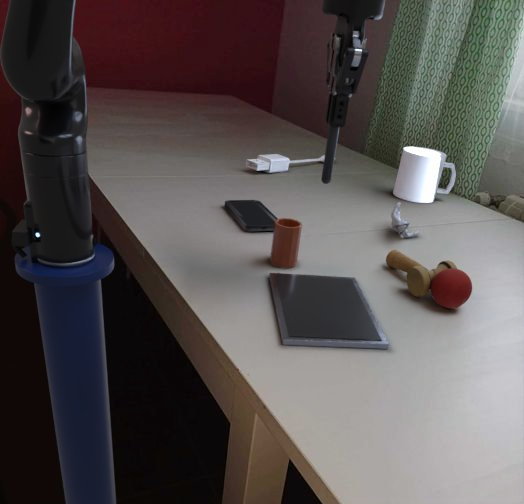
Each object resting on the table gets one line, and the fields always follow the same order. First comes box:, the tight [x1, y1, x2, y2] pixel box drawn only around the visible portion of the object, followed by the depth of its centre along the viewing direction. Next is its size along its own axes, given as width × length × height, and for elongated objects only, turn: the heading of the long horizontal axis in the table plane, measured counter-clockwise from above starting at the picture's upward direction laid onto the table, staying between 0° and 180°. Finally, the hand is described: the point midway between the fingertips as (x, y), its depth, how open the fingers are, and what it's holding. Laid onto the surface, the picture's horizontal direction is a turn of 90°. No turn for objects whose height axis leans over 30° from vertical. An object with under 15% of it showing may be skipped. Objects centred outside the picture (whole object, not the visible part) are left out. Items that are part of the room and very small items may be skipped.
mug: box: [392, 146, 457, 204], centre depth 130 cm, size 14×10×11 cm
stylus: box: [321, 124, 340, 185], centre depth 74 cm, size 1×1×13 cm
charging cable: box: [245, 153, 337, 174], centre depth 145 cm, size 5×32×3 cm, turn 133°
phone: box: [224, 199, 279, 233], centre depth 108 cm, size 8×1×15 cm
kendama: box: [385, 249, 473, 309], centre depth 87 cm, size 8×6×18 cm
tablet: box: [268, 272, 390, 350], centre depth 78 cm, size 14×20×1 cm
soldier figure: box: [390, 202, 420, 239], centre depth 109 cm, size 8×5×12 cm
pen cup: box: [269, 217, 303, 269], centre depth 89 cm, size 4×4×7 cm
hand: (334, 124), depth 73 cm, fingers closed on stylus, 1 cm apart
